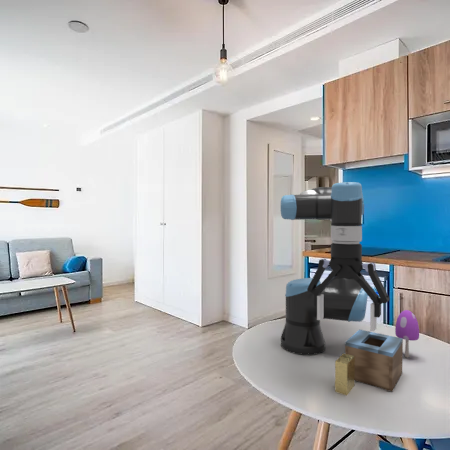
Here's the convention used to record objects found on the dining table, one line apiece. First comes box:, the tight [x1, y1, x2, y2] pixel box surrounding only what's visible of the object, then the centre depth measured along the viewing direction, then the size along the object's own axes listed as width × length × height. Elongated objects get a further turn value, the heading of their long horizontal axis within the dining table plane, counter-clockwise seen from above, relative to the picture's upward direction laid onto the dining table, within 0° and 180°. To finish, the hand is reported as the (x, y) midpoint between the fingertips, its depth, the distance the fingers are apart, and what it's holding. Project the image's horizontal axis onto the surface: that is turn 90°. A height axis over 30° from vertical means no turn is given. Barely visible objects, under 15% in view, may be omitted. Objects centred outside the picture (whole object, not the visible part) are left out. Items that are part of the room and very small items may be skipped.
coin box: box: [344, 329, 404, 392], centre depth 92 cm, size 12×13×10 cm
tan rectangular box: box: [334, 352, 355, 396], centre depth 84 cm, size 3×6×8 cm, turn 141°
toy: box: [394, 309, 420, 358], centre depth 103 cm, size 7×7×15 cm
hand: (345, 324), depth 84 cm, fingers open, 13 cm apart
